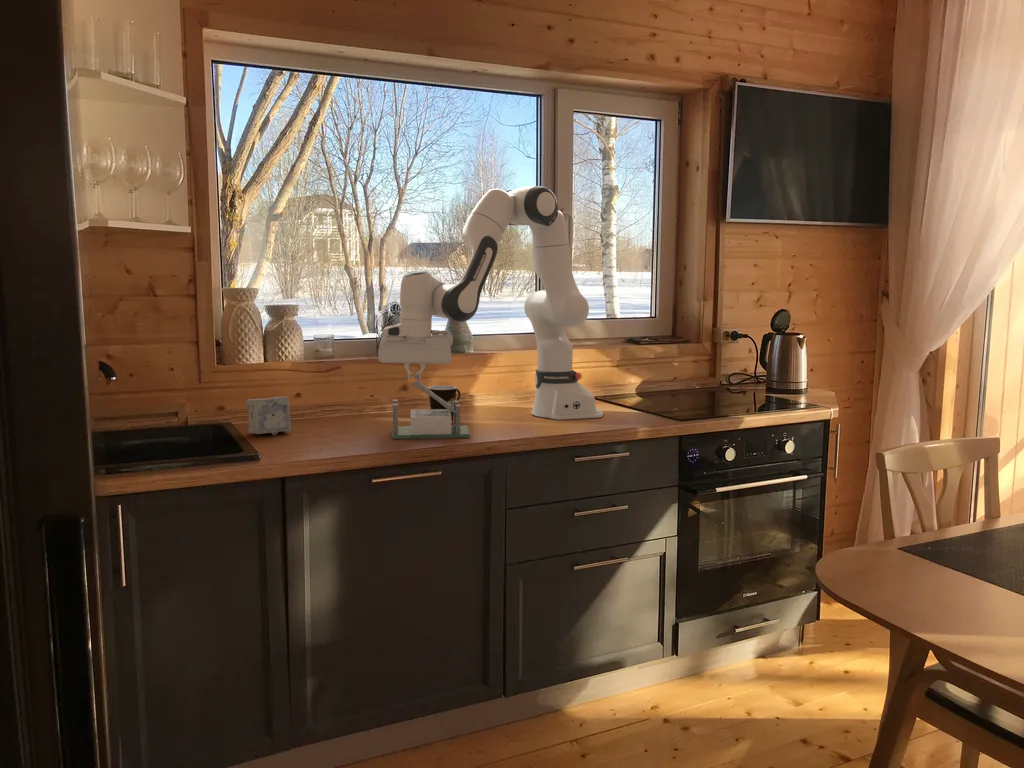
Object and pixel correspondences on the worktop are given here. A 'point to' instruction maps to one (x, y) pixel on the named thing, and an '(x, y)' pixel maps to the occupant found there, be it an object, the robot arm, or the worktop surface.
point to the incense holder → (268, 415)
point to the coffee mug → (443, 396)
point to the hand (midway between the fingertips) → (414, 379)
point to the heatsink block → (430, 424)
